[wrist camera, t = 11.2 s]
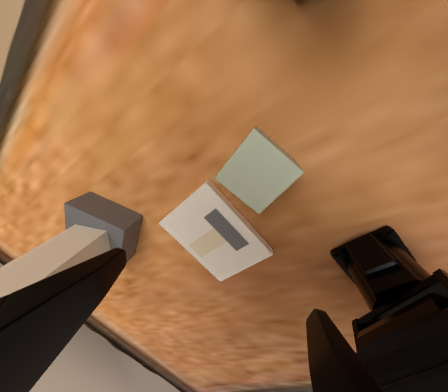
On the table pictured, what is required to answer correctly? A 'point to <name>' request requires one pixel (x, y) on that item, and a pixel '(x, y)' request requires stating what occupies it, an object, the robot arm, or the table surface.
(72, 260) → the cream block
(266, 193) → the sage cube
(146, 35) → the table surface
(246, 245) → the tile
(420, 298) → the robot arm
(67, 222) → the charcoal slab
